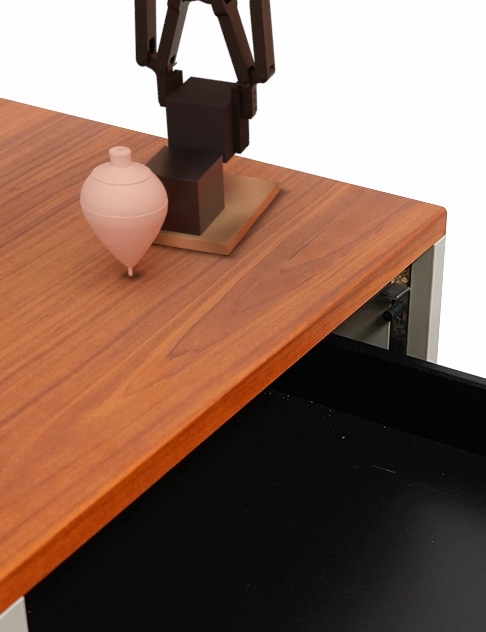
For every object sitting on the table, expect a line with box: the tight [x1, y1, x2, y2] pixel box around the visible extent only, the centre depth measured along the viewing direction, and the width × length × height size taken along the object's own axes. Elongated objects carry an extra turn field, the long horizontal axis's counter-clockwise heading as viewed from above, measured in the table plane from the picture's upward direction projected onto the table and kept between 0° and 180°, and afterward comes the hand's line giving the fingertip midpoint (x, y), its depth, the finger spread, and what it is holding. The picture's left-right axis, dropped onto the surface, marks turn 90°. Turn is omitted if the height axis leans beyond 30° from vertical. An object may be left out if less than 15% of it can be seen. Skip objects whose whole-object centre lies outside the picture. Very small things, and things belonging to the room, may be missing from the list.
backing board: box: [144, 145, 280, 256], centre depth 138 cm, size 12×16×7 cm
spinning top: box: [79, 145, 168, 277], centre depth 125 cm, size 8×8×12 cm
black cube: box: [165, 75, 237, 164], centre depth 138 cm, size 6×7×6 cm
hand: (209, 143), depth 139 cm, fingers closed on black cube, 6 cm apart
